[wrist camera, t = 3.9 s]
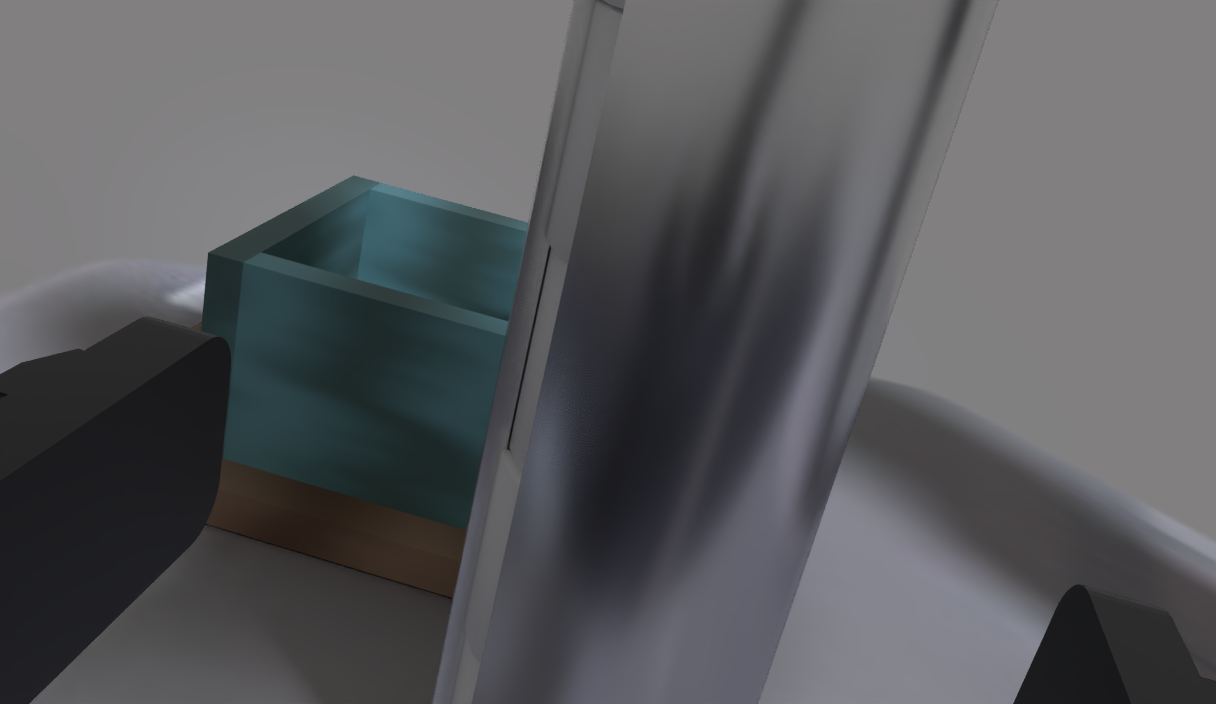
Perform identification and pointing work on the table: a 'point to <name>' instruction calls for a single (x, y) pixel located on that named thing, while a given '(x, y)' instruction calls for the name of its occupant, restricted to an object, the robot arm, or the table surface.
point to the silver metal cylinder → (694, 336)
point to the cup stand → (361, 375)
